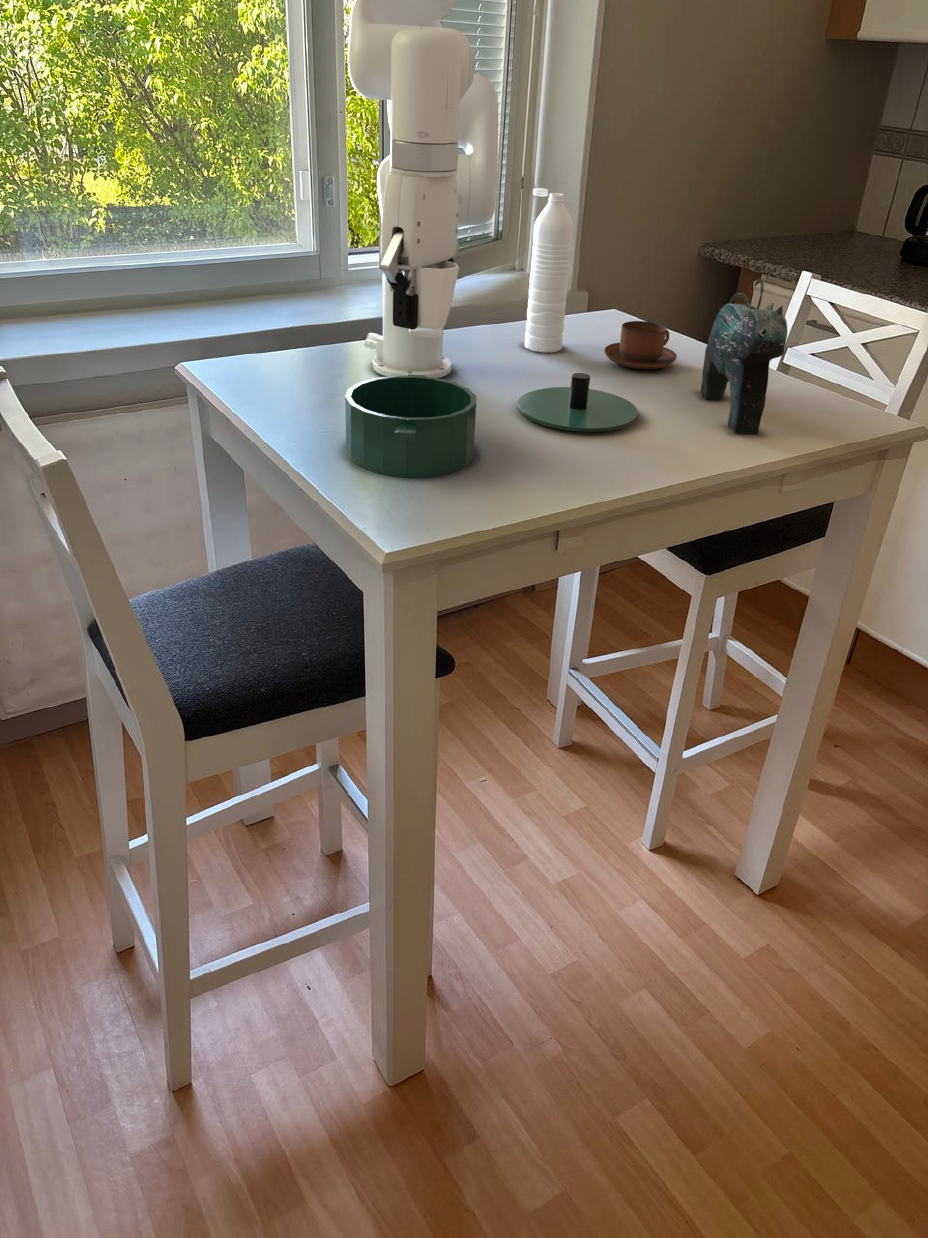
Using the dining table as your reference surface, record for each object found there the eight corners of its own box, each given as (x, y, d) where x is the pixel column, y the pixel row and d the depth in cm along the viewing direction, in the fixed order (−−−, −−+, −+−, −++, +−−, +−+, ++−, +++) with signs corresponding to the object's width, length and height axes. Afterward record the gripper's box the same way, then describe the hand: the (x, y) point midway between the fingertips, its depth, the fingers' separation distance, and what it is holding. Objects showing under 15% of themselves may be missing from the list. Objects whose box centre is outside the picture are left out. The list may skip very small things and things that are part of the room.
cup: (413, 341, 114) (417, 269, 110) (376, 320, 122) (379, 252, 118) (465, 338, 118) (471, 268, 114) (426, 318, 125) (430, 252, 121)
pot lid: (519, 432, 135) (522, 392, 132) (515, 391, 150) (518, 354, 147) (644, 438, 136) (650, 399, 133) (628, 396, 150) (633, 360, 147)
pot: (336, 482, 118) (335, 423, 114) (356, 419, 137) (356, 366, 133) (472, 489, 118) (475, 430, 114) (474, 425, 137) (477, 372, 133)
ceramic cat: (769, 439, 138) (801, 293, 127) (724, 438, 137) (753, 292, 127) (725, 392, 154) (751, 260, 144) (686, 391, 154) (708, 258, 143)
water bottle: (569, 350, 170) (585, 195, 157) (539, 355, 167) (553, 197, 153) (538, 337, 176) (551, 186, 163) (509, 341, 173) (520, 188, 160)
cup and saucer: (624, 348, 172) (628, 313, 169) (686, 363, 167) (692, 327, 163) (590, 363, 164) (594, 326, 161) (655, 379, 158) (661, 341, 155)
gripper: (436, 149, 117) (432, 302, 127) (350, 161, 104) (352, 330, 114) (491, 155, 114) (482, 312, 124) (409, 169, 101) (406, 343, 111)
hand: (420, 319), depth 119 cm, fingers closed on cup, 5 cm apart
